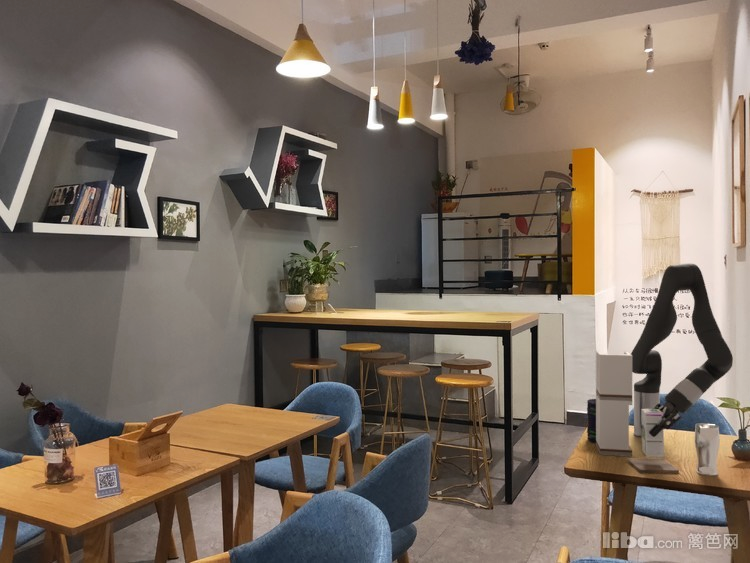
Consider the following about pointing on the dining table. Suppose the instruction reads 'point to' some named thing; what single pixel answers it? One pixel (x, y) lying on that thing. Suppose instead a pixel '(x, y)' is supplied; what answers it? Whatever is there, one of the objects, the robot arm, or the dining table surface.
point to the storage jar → (591, 420)
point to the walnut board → (652, 466)
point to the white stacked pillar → (613, 403)
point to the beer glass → (707, 448)
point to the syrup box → (650, 443)
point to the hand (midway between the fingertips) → (647, 432)
